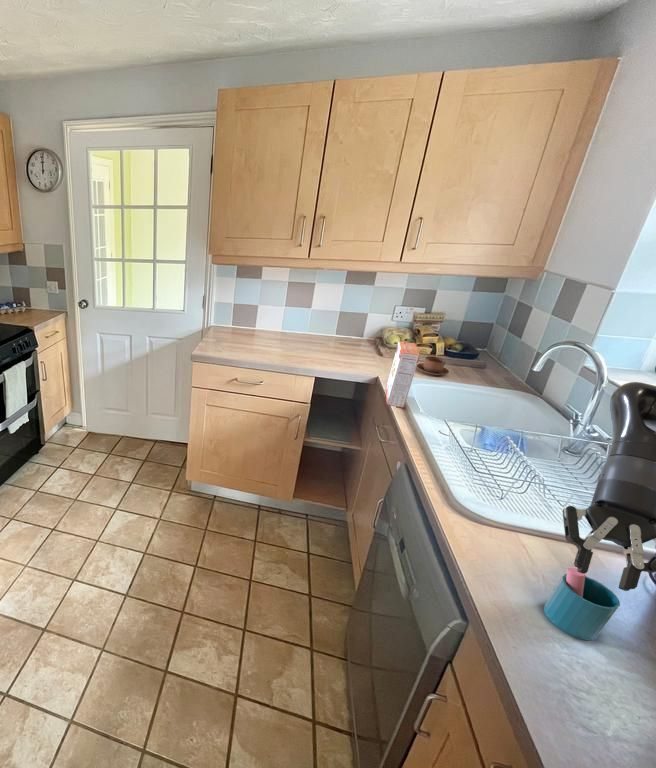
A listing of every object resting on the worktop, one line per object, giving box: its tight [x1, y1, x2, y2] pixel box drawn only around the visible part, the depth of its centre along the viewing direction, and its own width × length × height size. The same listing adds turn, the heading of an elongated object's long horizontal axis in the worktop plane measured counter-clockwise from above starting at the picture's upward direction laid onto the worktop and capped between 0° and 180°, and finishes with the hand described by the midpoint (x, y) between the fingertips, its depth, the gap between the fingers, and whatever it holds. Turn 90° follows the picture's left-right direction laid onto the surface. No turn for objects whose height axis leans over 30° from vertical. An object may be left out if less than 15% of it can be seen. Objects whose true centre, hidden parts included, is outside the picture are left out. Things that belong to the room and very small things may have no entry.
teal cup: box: [543, 573, 621, 641], centre depth 73 cm, size 7×7×8 cm
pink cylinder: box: [566, 566, 586, 597], centre depth 73 cm, size 2×2×10 cm
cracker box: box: [385, 341, 420, 409], centre depth 152 cm, size 14×6×21 cm, turn 154°
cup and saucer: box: [416, 356, 450, 376], centre depth 180 cm, size 12×12×6 cm
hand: (602, 580), depth 68 cm, fingers open, 4 cm apart
